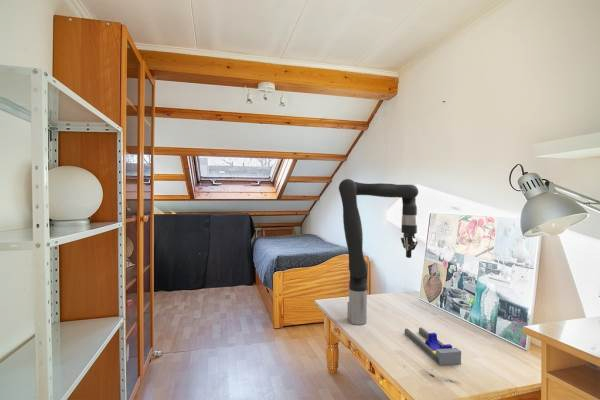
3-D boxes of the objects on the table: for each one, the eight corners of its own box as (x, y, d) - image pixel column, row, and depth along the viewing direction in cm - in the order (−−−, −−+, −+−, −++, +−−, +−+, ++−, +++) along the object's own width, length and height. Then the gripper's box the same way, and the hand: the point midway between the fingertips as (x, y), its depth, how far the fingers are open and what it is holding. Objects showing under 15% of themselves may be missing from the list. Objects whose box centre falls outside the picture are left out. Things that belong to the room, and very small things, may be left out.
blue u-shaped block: (425, 346, 137) (425, 333, 137) (434, 346, 138) (434, 332, 138) (442, 361, 126) (442, 346, 125) (452, 360, 126) (452, 345, 126)
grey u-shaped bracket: (440, 365, 122) (440, 353, 122) (404, 333, 149) (404, 323, 149) (461, 363, 123) (461, 351, 123) (421, 332, 151) (421, 322, 151)
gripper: (396, 222, 164) (395, 255, 165) (409, 225, 151) (408, 260, 152) (409, 222, 166) (408, 254, 166) (423, 225, 152) (422, 260, 153)
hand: (408, 257), depth 159 cm, fingers closed
